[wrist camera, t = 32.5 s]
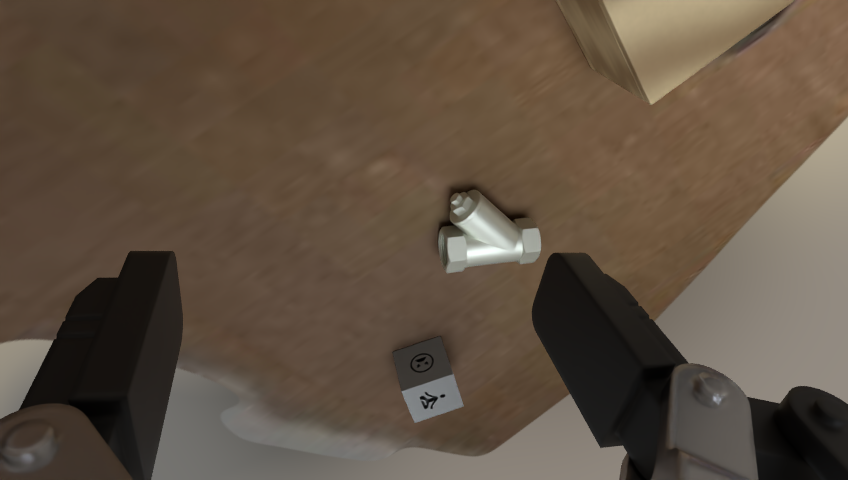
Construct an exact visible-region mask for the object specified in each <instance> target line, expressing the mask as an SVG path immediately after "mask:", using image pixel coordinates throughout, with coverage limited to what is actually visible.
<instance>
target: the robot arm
mask: <svg viewBox="0 0 848 480" xmlns="http://www.w3.org/2000/svg"><path fill="white" fill-rule="evenodd" d="M65 318H66V320H65V321H63V323H62V325H61V327H60V329H59V331H58V333H57V338H56V339H54V341H53V343H52V345H51V347H50V349H49V351H48V353H47V355H46V357H45V359H44V361H43V363H42V365H41V367H40V369H39V371H38V373H37V375H36V377H35V379H34V381H33V383H32V385H31V387H30V389H29V391H28V393H27V395H26V397H25V399H24V401H23V403H22V405H21V407H20V409H19V410H18V411H16V412H14V413H11V414H9V415H7V416H5V417H4V418H2V419H0V480H151V477H152V473H153V468H154V464H155V459H156V454H157V450H158V446H159V441H160V437H161V432H162V428H163V423H164V419H165V414H166V409H167V405H168V400H169V396H170V391H171V387H172V382H173V378H174V373H175V369H176V364H177V360H178V355H179V351H180V346H181V341H182V332H183V313H182V304H181V296H180V287H179V279H178V271H177V262H176V257H175V253H174V252H173V251H130V252H129V253H128V255H127V258H126V260H125V263H124V265H123V267H122V270H121V272H120V275H119V277H118V278H97V279H96V280H95V281H93V282H92V283H91V284H90V285H89V286H87V287H86V288H85V289H84V290H83V291H81V292H80V293H79V294H78V295H77V296H76V297H75V299H74V301H73V303H72V305H71V307H70V309H69V311H68V313H67V315H66V317H65ZM532 321H533V325H534V328H535V331H536V333H537V335H538V336H539V338H540V340H541V342H542V344H543V345H544V347H545V349H546V351H547V353H548V354H549V356H550V358H551V360H552V362H553V363H554V365H555V367H556V369H557V371H558V372H559V374H560V376H561V378H562V380H563V381H564V383H565V385H566V387H567V389H568V390H569V392H570V394H571V395H572V397H573V399H574V401H575V403H576V405H577V406H578V408H579V410H580V412H581V414H582V415H583V417H584V419H585V421H586V422H587V424H588V426H589V428H590V430H591V432H592V433H593V435H594V437H595V439H596V441H597V442H598V444H599V446H600V448H603V447H612V446H622V445H623V446H624V448H625V450H626V451H627V454H626V456H625V458H624V460H623V462H622V465H621V472H620V479H619V480H848V404H846V403H845V402H844V401H842V400H841V399H839V398H837V397H835V396H834V395H832V394H829V393H827V392H825V391H822V390H820V389H816V388H812V387H807V386H798V387H795V388H792V389H791V390H790V391H789V393H788V394H787V395H786V396H785V398H784V399H783V401H782V402H781V403H780V404H779V403H774V402H769V401H765V400H760V399H755V398H750V397H746V395H745V394H744V392H743V391H742V390H741V389H740V388H739V386H738V385H737V384H736V383H734V382H733V381H732V380H731V379H729V378H728V377H726V376H725V375H724V374H722V373H720V372H718V371H716V370H714V369H712V368H710V367H707V366H704V365H699V364H693V363H690V364H689V363H688V362H687V361H686V359H685V358H684V357H683V356H682V355H681V353H680V352H679V351H678V350H677V349H676V347H675V346H674V345H673V344H672V343H671V341H670V340H669V339H668V338H667V337H666V335H665V334H664V333H663V332H662V331H661V330H660V328H659V327H658V326H657V325H656V323H655V322H654V321H653V320H652V319H649V315H648V314H647V313H646V312H645V310H644V309H643V308H642V307H641V306H638V302H637V301H636V300H635V298H634V297H633V296H632V295H631V294H630V292H629V291H628V290H627V289H626V288H625V287H624V286H623V285H621V284H620V283H618V282H617V281H616V280H614V279H613V278H611V277H610V276H609V275H607V274H604V273H603V272H602V271H601V270H600V268H599V267H598V266H597V265H596V263H595V262H594V261H593V260H592V259H591V257H590V256H589V255H588V254H586V253H553V254H552V255H551V256H550V257H549V259H548V261H547V264H546V267H545V270H544V273H543V276H542V279H541V282H540V285H539V288H538V291H537V294H536V297H535V300H534V303H533V307H532Z"/></svg>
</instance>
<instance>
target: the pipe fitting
mask: <svg viewBox="0 0 848 480" xmlns="http://www.w3.org/2000/svg"><path fill="white" fill-rule="evenodd" d="M450 201H451V205H450V208H451V211H450V216H449V217H450V221H451V222H452V223H453V224H454V226H445V227H442V228H441V230H440V232H439V237H438V246H439V255H440V260H441V264H442V266H443V268H444V270H445V271H446V272H447V273H452V272H460V271H463V270H464V268H465V267H471V266H479V265H487V264H495V263H504V262H512V261H516V262H518V263H519V264H525V263H533V262H535V261H536V260H537V258H538V257H539V255H540V251H541V238H540V233H539V229H538V227H537V225H536V223H535V222H534V221H533V220H532V219H530V218H519V219H514V220H513V222H512V221H511V220H510V219H509V218H507V217H506V216H505V215H504V214H503V213H502V212H501V211H500V210H499V209H497V208H496V207H495V206H494V205H493V204H492V203H491V202H490V201H489V200H488V199H486V198H485V197H484V196H483V195H482V194H481V193H480V192H479V191H477V190H470V191H468V192H462V193H460V194H458V193H455V194H454V195H453V196H452V197H451V199H450Z"/></svg>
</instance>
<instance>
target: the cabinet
mask: <svg viewBox="0 0 848 480" xmlns="http://www.w3.org/2000/svg"><path fill="white" fill-rule="evenodd" d="M793 1H795V0H556V2H557V3H558V5H559V7H560V9H561V11H562V13H563V15H564V17H565V19H566V21H567V23H568V25H569V27H570V29H571V30H572V32H573V34H574V36H575V38H576V40H577V42H578V44H579V46H580V48H581V50H582V52H583V54H584V55H585V57H586V59H587V61H588V63H589V65H590V67H591V68H592V69H593V70H595V71H597V72H598V73H600V74H601V75H603V76H605V77H606V78H608V79H610V80H611V81H613V82H614V83H616V84H618V85H619V86H621V87H623V88H624V89H626V90H627V91H629V92H631V93H632V94H634V95H636V96H637V97H639V98H640V99H642V100H644V101H645V102H647V103H649V104H650V105H652V104H654V103H655V102H656V101H658V100H659V99H660V98H662V97H663V96H664V95H666V94H667V93H669V92H670V91H671V90H673V89H674V88H675V87H677V86H678V85H680V84H681V83H682V82H684V81H685V80H686V79H688V78H689V77H691V76H692V75H693V74H695V73H696V72H697V71H699V70H700V69H701V68H703V67H704V66H706V65H707V64H708V63H710V62H711V61H712V60H714V59H715V58H717V57H718V56H719V55H721V54H722V53H723V52H725V51H726V50H728V49H729V48H730V47H732V46H733V45H734V44H736V43H737V42H739V41H740V40H741V39H743V38H744V37H745V36H747V35H748V34H749V33H751V32H752V31H754V30H755V29H756V28H758V27H759V26H760V25H762V24H763V23H765V22H766V21H767V20H769V19H770V18H771V17H773V16H774V15H776V14H777V13H778V12H780V11H781V10H782V9H784V8H785V7H786V6H788V5H789V4H791V3H792V2H793Z"/></svg>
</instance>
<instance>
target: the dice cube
mask: <svg viewBox="0 0 848 480" xmlns="http://www.w3.org/2000/svg"><path fill="white" fill-rule="evenodd" d="M393 357H394V361H395V365H396V370H397V374H398V379H399V383H400V387H401V392H402V394H403V396H404V399H405V401H406V403H407V406H408V408H409V411H410V413H411V415H412V418H413V420H414V422H415V423H416V422H419V421H422V420H425V419H428V418H431V417H434V416H437V415H439V414H442V413H445V412H448V411H451V410H454V409H457V408H460V407H463V403H462V400H461V396H460V393H459V390H458V387H457V384H456V381H455V378H454V375H453V372H452V369H451V366H450V363H449V360H448V357H447V354H446V351H445V348H444V345H443V342H442V339H441V336H439V337H436V338H433V339H430V340H427V341H424V342H421V343H418V344H415V345H412V346H409V347H406V348H403V349H400V350H397V351H394V352H393Z"/></svg>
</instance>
